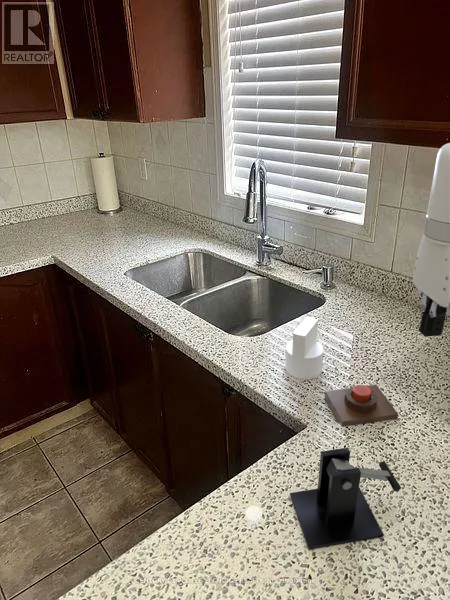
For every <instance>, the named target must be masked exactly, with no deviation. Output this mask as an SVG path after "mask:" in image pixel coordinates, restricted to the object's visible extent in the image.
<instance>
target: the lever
mask: <svg viewBox="0 0 450 600" xmlns="http://www.w3.org/2000/svg"><path fill="white" fill-rule="evenodd" d="M378 466H379V468H380V469H375V468H364V467H358V466H357V467H356V466H352V465H351V464H350V461H349V462H348V460H342V459H334V458H332V459H331V461H330V463H329V465H328V467H327V469H326V471H327V473H328V475H329V477H330V472H333V471H339V470H346V469H353V468H359V469H360V471H361V477H360V479H370V480H380V481H388V484H389V485H390V487H391V488H392V490H393V491H394V492H399V491H400V490H401V489H402V486H401V485H400V483H399V481H398V480H397V478H396V477H395V475H394V473H393V472H392V470H391V468H390V467H389V465H388V464H387V462H386V461H384V460H383V461H380V462H379V463H378Z"/></svg>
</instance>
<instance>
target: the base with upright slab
mask: <svg viewBox="0 0 450 600" xmlns="http://www.w3.org/2000/svg"><path fill="white" fill-rule="evenodd" d="M318 326H319V319H317V318H314V317H309V316H306V317H304V319H303V320H302V321H301V322H300V324H299V325H298V326H297V327H296V329H295V330H294V331H293V332H292V339H291V340H288V342H287V343H286V344H285V357H284V358H285V360H284V361H285V363H284V369H285V371H286V372H287V374H288V375H290V376H291V377H293V378H295V379H300V380H311V379H316V378H317V377H319V376H320V375H321V374H322V372H323V365H324V364H323V363H324V351H325V349H324V346H323V344H322V343H320V341H317V340H318Z"/></svg>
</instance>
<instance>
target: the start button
mask: <svg viewBox="0 0 450 600" xmlns="http://www.w3.org/2000/svg"><path fill="white" fill-rule="evenodd" d="M354 386H355V387H354V388H353V394H352V396H353V398H354V399H355V400H357V401H360V402H367V401H369V400H370V395H371V390H370V389H369V388H368V387H366V386H367V385H364V384H357V385H354Z"/></svg>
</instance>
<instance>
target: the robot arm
mask: <svg viewBox="0 0 450 600" xmlns="http://www.w3.org/2000/svg"><path fill="white" fill-rule="evenodd" d="M429 195H430V196H429V199H428V206H427V212H426V216H425V223H424V228H423V234H422V237H421V240H420V243H419V247H418V249H417V254H416V259H415V262H414V267H413V272H412V273H413V275H412V283H413V285H414V286H415V288H416V290H417V291H418V293H419V294H420V297H421V310H422V313H421V319H420V324H419V329H418V332H419V333H420V334H422V336H424V338H428V337H437V336H441V335H443V330H444V326H445V322H446V318H447V317H448V316H449V317H450V142H448V143H445V144H443V145H442V146H441V147H440V148H439V150H438V152H437V156H436V159H435V165H434V172H433V177H432V183H431V188H430V194H429Z"/></svg>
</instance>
